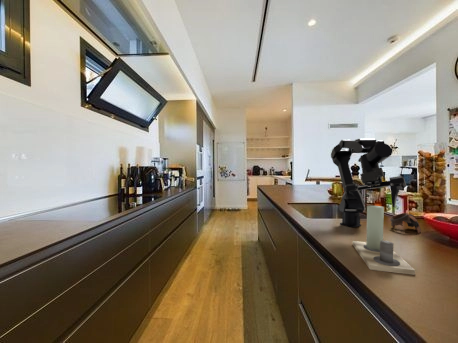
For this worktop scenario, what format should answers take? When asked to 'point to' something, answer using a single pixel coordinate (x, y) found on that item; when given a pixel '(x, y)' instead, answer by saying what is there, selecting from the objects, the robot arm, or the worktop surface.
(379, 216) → the sage pin
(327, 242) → the worktop surface
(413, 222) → the dark brown curved piece
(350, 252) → the worktop surface
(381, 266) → the board
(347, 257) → the worktop surface
